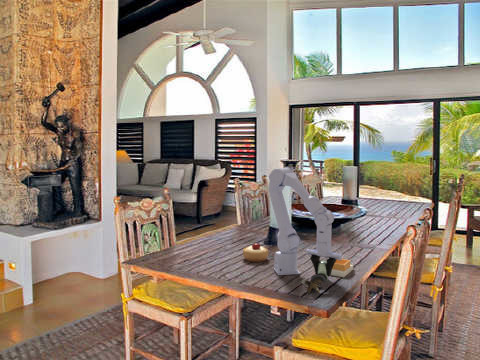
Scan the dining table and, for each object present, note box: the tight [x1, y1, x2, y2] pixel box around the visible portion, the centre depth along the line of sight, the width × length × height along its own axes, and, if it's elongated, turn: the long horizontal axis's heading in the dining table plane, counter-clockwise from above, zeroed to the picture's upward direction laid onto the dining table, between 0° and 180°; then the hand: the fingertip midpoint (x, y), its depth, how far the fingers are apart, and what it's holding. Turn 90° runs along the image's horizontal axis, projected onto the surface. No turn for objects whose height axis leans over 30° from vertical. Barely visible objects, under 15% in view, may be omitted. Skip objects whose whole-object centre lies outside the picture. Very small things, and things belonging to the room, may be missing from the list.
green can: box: [317, 260, 330, 282], centre depth 161 cm, size 4×4×7 cm
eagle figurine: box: [301, 273, 327, 294], centre depth 149 cm, size 8×7×9 cm
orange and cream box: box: [330, 258, 354, 278], centre depth 171 cm, size 12×9×4 cm
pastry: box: [242, 240, 269, 263], centre depth 188 cm, size 12×12×9 cm
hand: (323, 274), depth 161 cm, fingers closed on green can, 4 cm apart
